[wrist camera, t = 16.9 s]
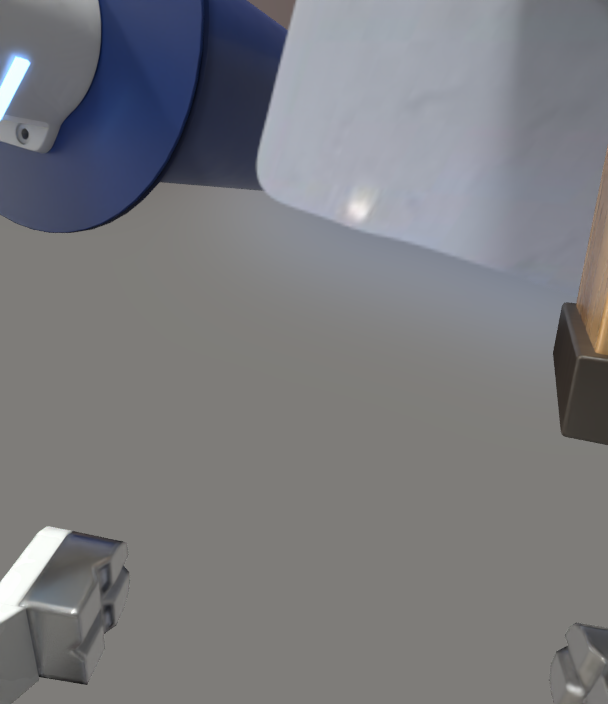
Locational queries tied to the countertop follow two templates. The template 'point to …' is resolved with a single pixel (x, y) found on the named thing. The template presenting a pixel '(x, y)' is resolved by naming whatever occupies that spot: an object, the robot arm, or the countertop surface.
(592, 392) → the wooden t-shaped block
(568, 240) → the countertop surface
